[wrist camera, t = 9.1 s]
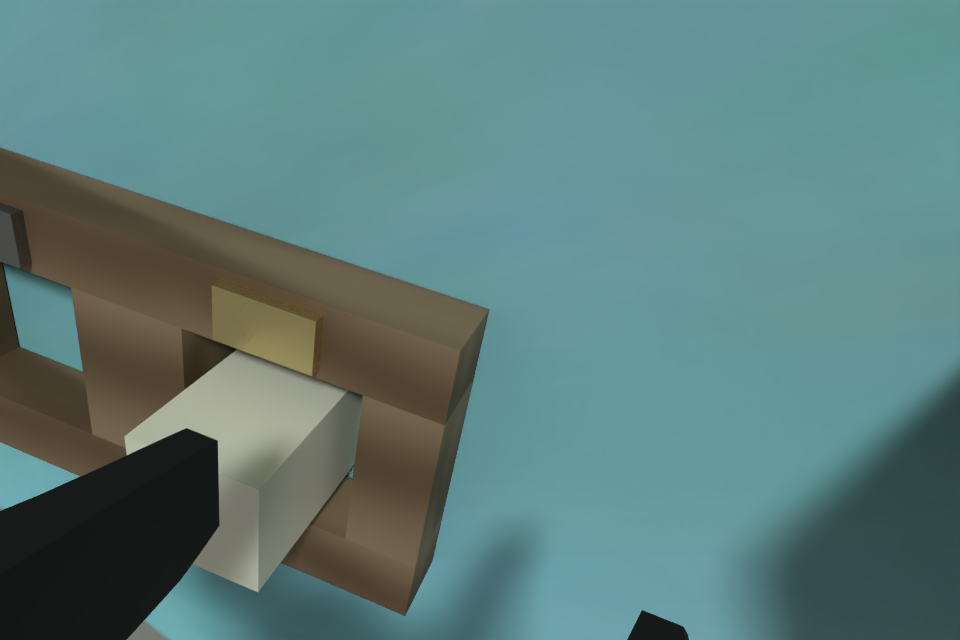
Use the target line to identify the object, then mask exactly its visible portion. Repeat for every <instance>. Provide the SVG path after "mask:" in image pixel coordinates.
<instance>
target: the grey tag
mask: <svg viewBox="0 0 960 640" xmlns="http://www.w3.org/2000/svg"><path fill="white" fill-rule="evenodd" d="M0 261H1V262H3V263H6V264H9V265H11V266H14V267H17V268H20V269H22V268H24V267H27V266H29V265H31V264H32V260H31V254H30V248H29V243H28V237H27V232H26V226H25V220H24V215H23V210H21V209H18V208H15V207H12V206H9V205H6V204H3V203H0Z"/></svg>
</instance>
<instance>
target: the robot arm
mask: <svg viewBox="0 0 960 640" xmlns="http://www.w3.org/2000/svg"><path fill="white" fill-rule="evenodd" d="M219 526H220V523H219V474H218V440H215V439H213V438H210V437H208V436H205V435H203V434H200V433H198V432H195V431H193V430H190V429H188V428H186V429H183V430H181V431H179V432H176V433H174V434H172V435H170V436H167V437H165V438H163V439H161V440H159V441H157V442H154V443H152V444H150V445H148V446H146V447H144V448H141V449H139V450H137V451H135V452H133V453H131V454H129V455H126V456H124V457H122V458H120V459H118V460H116V461H114V462H111V463H109V464H107V465H105V466H103V467H101V468H98V469H96V470H94V471H92V472H90V473H87V474H85V475H83V476H81V477H78V478H76V479H74V480H72V481H70V482H67V483H65V484H63V485H61V486H58V487H56V488H54V489H52V490H49V491H47V492H45V493H43V494H40V495H38V496H36V497H33V498H31V499H29V500H26V501H24V502H21V503H19V504H16V505H14V506H11V507H9V508H7V509H4V510H2V511H0V640H126V639H127V638H128V637H129V636H130V635H131V634H132V633H133V632H134V631H135V630H136V629H137V627H138V626H139V625H140V624H141V623H142V622H143V621H144V620H145V619H146V618H147V617H148V615H149V614H150V613H151V612H152V611H153V610H154V609H155V608H156V607H157V605H158V604H159V603H160V602H161V601H162V600H163V599H164V598H165V597H166V596H167V594H168V593H169V592H170V591H171V590H172V589H173V588H174V587H175V585H176V584H177V583H178V582H179V581H180V580H181V578H182V577H183V576H184V574H185V573H186V572H187V570H188V569H189V568H190V566H191V565H192V564H193V562H194V561H195V560H196V558H197V557H198V556H199V554H200V553H201V551H202V550H203V548H204V547H205V546H206V544H207V543H208V541H209V540H210V538H211V537H212V536H213V534H214V533H215V531H216V530H217V528H218V527H219ZM627 640H689V639H688V634H687V632H686V630H685V629H684V627H683V626H680V625H678V624H675V623H673V622H670V621H668V620H665V619H663V618H660V617H658V616H655V615H653V614H650V613H648V612H645V611H643V610H642V611H641V613H640V615H639V617H638V619H637V621H636V623H635V625H634V627H633V629H632V631H631V633H630V635H629V637H628V639H627Z"/></svg>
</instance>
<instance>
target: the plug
mask: <svg viewBox="0 0 960 640" xmlns="http://www.w3.org/2000/svg"><path fill="white" fill-rule="evenodd" d="M362 398H363V395H361V394H358V393H355V392H352V391H350V390H347V389H344V388H342V387H339V386H336V385H333V384H331V383H328V382H325V381H323V380H320V379H317V378H314V377H312V376H309V375H306V374H304V373H301V372H298V371H296V370H293V369H290V368H287V367H285V366H282V365H279V364H277V363H274V362H271V361H268V360H266V359H263V358H260V357H258V356H255V355H252V354H249V353H247V352H244V351H241V350H239V349H237V350H236V351H234V352H233V353H232V354H230V355H229V356H228V357H227V358H225V359H224V360H223V361H221V362H220V363H219V364H217V365H216V366H215V367H214V368H212V369H211V370H210V371H208V372H207V373H206V374H205V375H203V376H202V377H201V378H199V379H198V380H197V381H195V382H194V383H193V384H192V385H190V386H189V387H188V388H186V389H185V390H184V391H182V392H181V393H180V394H179V395H177V396H176V397H175V398H173V399H172V400H171V401H170V402H168V403H167V404H166V405H164V406H163V407H162V408H160V409H159V410H158V411H157V412H155V413H154V414H153V415H151V416H150V417H149V418H148V419H146V420H145V421H144V422H142V423H141V424H140V425H138V426H137V427H136V428H135V429H133V430H132V431H131V432H129V433H128V434H127V435H126V436H124V438H125V445H126V453H127V455H129V454H131V453H133V452H135V451H137V450H139V449H141V448H144V447H146V446H148V445H150V444H152V443H154V442H157V441H159V440H161V439H163V438H165V437H167V436H170V435H172V434H174V433H176V432H179V431H181V430H183V429H186V428H188V429H190V430H193V431H195V432H198V433H200V434H203V435H205V436H208V437H210V438H213V439H215V440H218V474H219V523H220V526H219V527H218V528H217V530H216V531H215V533H214V534H213V536H212V537H211V538H210V540H209V541H208V543H207V544H206V546H205V547H204V548H203V550H202V551H201V553H200V554H199V556H198V557H197V558H196V560H195V561H194V562H193V565H195V566H198V567H200V568H202V569H205V570H207V571H209V572H212V573H214V574H216V575H219V576H221V577H223V578H226V579H228V580H230V581H233V582H235V583H237V584H240V585H242V586H244V587H247V588H249V589H251V590H254V591H256V592H259V591H260V589H261V588H262V587H263V585H264V584H265V583H266V581H267V580H268V579H269V577H270V576H271V575H272V573H273V572H274V571H275V569H276V568H277V567H278V565H279V564H280V563H281V561H282V560H283V559H284V557H285V556H286V555H287V553H288V552H289V551H290V549H291V548H292V547H293V545H294V544H295V543H296V541H297V540H298V539H299V537H300V536H301V535H302V533H303V532H304V531H305V529H306V528H307V527H308V525H309V524H310V523H311V521H312V520H313V519H314V517H315V516H316V515H317V513H318V512H319V511H320V509H321V508H322V507H323V505H324V504H325V503H326V501H327V500H328V499H329V497H330V496H331V495H332V493H333V492H334V491H335V489H336V488H337V487H338V485H339V484H340V483H341V481H342V480H343V479H344V477H345V476H346V475H347V473H348V472H349V471H350V469H351V468H352V467H353V465H354V464H355V455H356V447H357V439H358V431H359V423H360V415H361V406H362Z"/></svg>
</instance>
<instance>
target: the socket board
mask: <svg viewBox="0 0 960 640" xmlns="http://www.w3.org/2000/svg"><path fill="white" fill-rule="evenodd" d="M0 203H3V204H6V205H9V206H12V207H15V208H18V209H21V210H23V215H24V220H25V226H26V232H27V237H28V243H29V248H30V254H31V260H32V264H31V265H29V266H27V267H24V268H22V270H25V271H27V272H30V273H33V274H35V275H38V276H41V277H43V278H46V279H49V280H52V281H54V282H57V283H60V284H62V285H65V286H68V287H71V292H72V298H73V305H74V312H75V319H76V326H77V332H78V339H79V346H80V353H81V360H82V366H83V372H81V371H79V370H76V369H74V368H71V367H68V366H66V365H63V364H61V363H58V362H56V361H53V360H51V359H48V358H46V357H43V356H41V355H38V354H36V353H33V352H31V351H28V350H25V349H23V348H20V347H19V344H18V339H17V334H16V329H15V325H14V320H13V315H12V310H11V305H10V300H9V295H8V290H7V285H6V280H5V275H4V271H3V266H2V262H1V261H0V442H1V443H4V444H6V445H8V446H11V447H13V448H15V449H18V450H20V451H22V452H25V453H27V454H29V455H32V456H34V457H36V458H39V459H41V460H43V461H46V462H48V463H50V464H53V465H55V466H57V467H60V468H62V469H64V470H67V471H69V472H71V473H74V474H76V475H78V476H83V475H85V474H87V473H90V472H92V471H94V470H96V469H98V468H101V467H103V466H105V465H107V464H109V463H111V462H114V461H116V460H118V459H120V458H122V457H124V456H126V455H127V453H126V445H125V438H124V436H126V435H127V434H128V433H129V432H131V431H132V430H133V429H135V428H136V427H137V426H138V425H140V424H141V423H142V422H144V421H145V420H146V419H148V418H149V417H150V416H151V415H153V414H154V413H155V412H157V411H158V410H159V409H160V408H162V407H163V406H164V405H166V404H167V403H168V402H170V401H171V400H172V399H173V398H175V397H176V396H177V395H179V394H180V393H181V392H182V391H184V390H185V389H186V388H188V387H189V386H190V385H192V384H193V383H194V382H195V381H197V380H198V379H199V378H201V377H202V376H203V375H205V374H206V373H207V372H208V371H210V370H211V369H212V368H214V367H215V366H216V365H217V364H219V363H220V362H221V361H223V360H224V359H225V358H227V357H228V356H229V355H230V354H232V353H233V352H234V347H231V346H228V345H226V344H223V343H220V342H217V341H215V340H213V326H212V285H213V284H214V283H216V282H218V281H219V280H224V281H227V282H230V283H232V284H235V285H238V286H241V287H244V288H247V289H250V290H253V291H255V292H258V293H261V294H264V295H267V296H270V297H273V298H275V299H278V300H281V301H284V302H287V303H290V304H293V305H296V306H298V307H301V308H304V309H307V310H310V311H313V312H316V313H318V314H321V315H324V316H323V329H322V342H321V355H320V368H319V370H318V371H317V372H316V373H315V374H314V375H313V376H312V377H314V378H317V379H320V380H323V381H325V382H328V383H331V384H333V385H336V386H339V387H342V388H344V389H347V390H350V391H352V392H355V393H358V394H361V395H363V398H362V406H361V415H360V423H359V431H358V439H357V447H356V455H355V464H354V472H353V479H352V478H349V477H347V476H345V477H344V479H343V480H342V481H341V483H340V484H339V485H338V487H337V488H336V489H335V491H334V492H333V493H332V495H331V496H330V497H329V499H328V500H327V501H326V503H325V504H324V505H323V507H322V508H321V509H320V511H319V512H318V513H317V515H316V516H315V517H314V519H313V520H312V521H311V523H310V524H309V525H308V527H307V528H306V529H305V531H304V532H303V533H302V535H301V536H300V537H299V539H298V540H297V541H296V543H295V544H294V545H293V547H292V548H291V549H290V551H289V552H288V553H287V555H286V556H285V557H284V559H283V560H282V561H281V563H283V564H285V565H288V566H290V567H292V568H295V569H297V570H299V571H302V572H304V573H306V574H309V575H311V576H313V577H316V578H318V579H320V580H323V581H325V582H327V583H330V584H332V585H334V586H337V587H339V588H341V589H344V590H346V591H348V592H351V593H353V594H355V595H358V596H360V597H362V598H364V599H367V600H369V601H371V602H374V603H376V604H378V605H381V606H383V607H385V608H388V609H390V610H392V611H395V612H397V613H399V614H402V615H404V616H405V615H406V613H407V611H408V609H409V607H410V605H411V603H412V601H413V599H414V597H415V595H416V593H417V591H418V589H419V587H420V585H421V583H422V581H423V579H424V577H425V575H426V573H427V571H428V569H429V567H430V565H431V563H432V560H433V556H434V551H435V547H436V542H437V538H438V534H439V529H440V525H441V520H442V516H443V512H444V507H445V503H446V498H447V494H448V489H449V485H450V481H451V476H452V472H453V467H454V463H455V459H456V454H457V450H458V445H459V441H460V436H461V432H462V428H463V423H464V419H465V414H466V410H467V406H468V401H469V397H470V392H471V388H472V383H473V379H474V375H475V370H476V366H477V361H478V357H479V353H480V348H481V344H482V339H483V335H484V330H485V326H486V322H487V317H488V313H489V309H486V308H483V307H480V306H477V305H474V304H471V303H468V302H465V301H462V300H459V299H456V298H453V297H450V296H447V295H444V294H441V293H438V292H434V291H431V290H428V289H425V288H422V287H419V286H416V285H413V284H410V283H407V282H404V281H401V280H398V279H395V278H392V277H389V276H386V275H383V274H380V273H377V272H374V271H371V270H368V269H365V268H362V267H359V266H356V265H353V264H350V263H347V262H344V261H341V260H338V259H335V258H332V257H329V256H326V255H323V254H320V253H317V252H314V251H311V250H308V249H304V248H301V247H298V246H295V245H292V244H289V243H286V242H283V241H280V240H277V239H274V238H271V237H268V236H265V235H262V234H259V233H256V232H253V231H250V230H247V229H244V228H241V227H238V226H235V225H232V224H229V223H226V222H223V221H220V220H217V219H214V218H211V217H208V216H205V215H202V214H199V213H196V212H193V211H190V210H187V209H184V208H181V207H178V206H175V205H171V204H168V203H165V202H162V201H159V200H156V199H153V198H150V197H147V196H144V195H141V194H138V193H135V192H132V191H129V190H126V189H123V188H120V187H117V186H114V185H111V184H108V183H105V182H102V181H99V180H96V179H93V178H90V177H87V176H84V175H81V174H78V173H75V172H72V171H69V170H66V169H63V168H60V167H57V166H54V165H51V164H48V163H45V162H41V161H38V160H35V159H32V158H29V157H26V156H23V155H20V154H17V153H14V152H11V151H8V150H5V149H2V148H0ZM8 265H9V264H8ZM16 268H17V267H16ZM19 269H20V268H19ZM241 351H242V350H241ZM244 352H245V351H244ZM249 354H250V353H249ZM252 355H253V354H252ZM260 358H261V357H260ZM263 359H264V358H263ZM268 361H269V360H268ZM271 362H272V361H271ZM279 365H280V364H279ZM282 366H283V365H282ZM287 368H288V367H287ZM290 369H291V368H290ZM298 372H299V371H298ZM306 375H307V374H306ZM309 376H310V375H309Z"/></svg>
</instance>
